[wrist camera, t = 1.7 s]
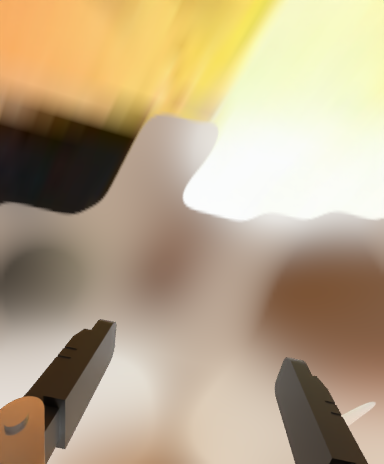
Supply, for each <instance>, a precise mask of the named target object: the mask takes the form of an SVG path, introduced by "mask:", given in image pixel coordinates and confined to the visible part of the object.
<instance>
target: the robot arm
mask: <svg viewBox="0 0 384 464" xmlns="http://www.w3.org/2000/svg"><path fill="white" fill-rule="evenodd" d="M115 335H116V322H111V321H107V320H101V319H100V320H98V322H97V323H96V324H95V326H94V327H93V328H92V330H88V329H84V330H82V331H81V332H79V333H78V334H76V335H74V336H73V337H72V338H71V340H70V341H69V342H68V343H67V345H66V346H65V348H64V349H63V350H62V351H61V352H60V354H58V357H56V358H55V359H54V360H53V362H52V363H51V364H50V365H49V367H48V368H47V369H46V370H45V372H44V373H43V374H42V375H41V376H40V378H39V379H38V380H37V381H36V383H35V384H34V385H33V386H32V387H31V389H30V390H29V391H28V392H27V393H26V395H24V397H22V398H19V399H16V400H14V401H12V402H10V403H8V404H7V405H6V406H4V407H3V408H1V409H0V464H47V462H48V460H49V458H50V456H51V455H52V452H53V451H54V449H55V447H58V448H62V449H65V448H66V446H67V444H68V442H69V441H70V439H71V437H72V435H73V433H74V431H75V429H76V427H77V425H78V423H79V421H80V419H81V417H82V415H83V414H84V412H85V410H86V408H87V406H88V404H89V402H90V400H91V398H92V396H93V394H94V392H95V390H96V388H97V386H98V384H99V382H100V381H101V379H102V377H103V375H104V373H105V371H106V369H107V367H108V365H109V363H110V361H111V358H112V355H113V352H114V346H115ZM275 395H276V399H277V403H278V406H279V410H280V413H281V416H282V420H283V423H284V426H285V429H286V433H287V437H288V440H289V443H290V447H291V450H292V454H293V457H294V460H295V464H368V463H367V461H366V459H365V457H364V456H363V454H362V452H361V450H360V448H359V446H358V444H357V443H356V441H355V439H354V437H353V435H352V433H351V432H350V430H349V428H348V426H347V424H346V422H345V420H344V419H343V417H341V413H340V412H339V409H338V408H337V406H336V405H335V402H334V400H333V399H332V397H331V395H330V393H329V391H328V389H327V388H326V387H325V386H324V385H323V383H322V382H321V381H320V380H319V379H318V378H317V376H312V374H311V372H310V370H309V368H308V366H307V364H306V363H305V362H304V361H302V360H297V359H292V358H285V359H284V361H283V364H282V366H281V369H280V372H279V374H278V377H277V380H276V383H275Z"/></svg>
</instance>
